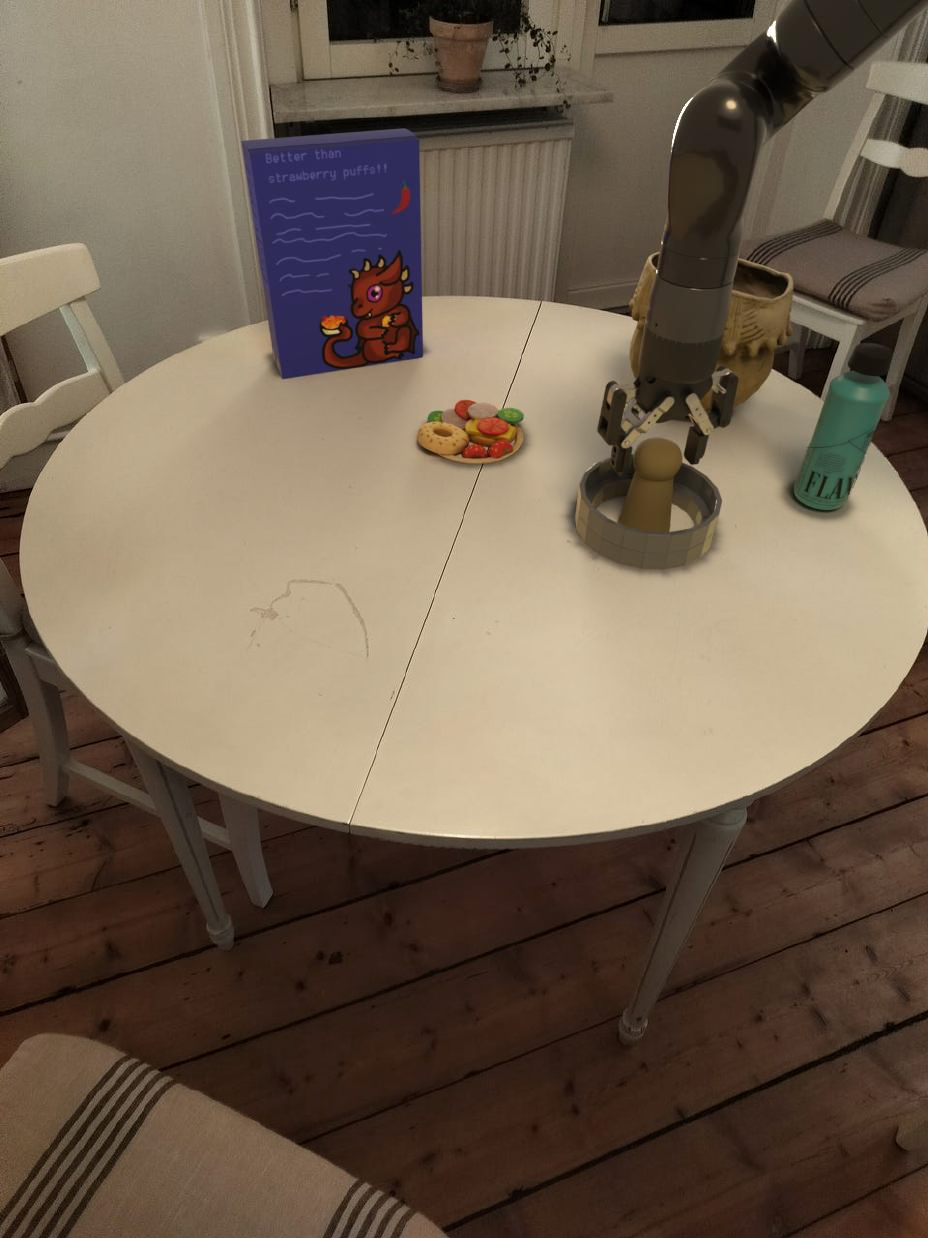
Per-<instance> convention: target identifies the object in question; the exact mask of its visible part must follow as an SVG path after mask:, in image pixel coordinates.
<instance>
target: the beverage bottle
mask: <svg viewBox="0 0 928 1238" xmlns="http://www.w3.org/2000/svg"><path fill="white" fill-rule="evenodd" d="M893 357H894V353H893V351H892V350H891V348H889V347H887V346H885V345H882V344H880V343H876V342H875V343H873V342H862V343H859V344H856V346H854V348H853V351H852V353H851V355H850V356H849V359H848V362H847V367H848V368H849V369H850V370H849V371H847V372H843V373H841V374H838V375H837V376H835V377H834V378H832V379H831V380H830V382H829V385H828V390H827V393H826V396H825V398H824V401H823V404H822V407H821V411H820V413H819V415H818V419H817V422H816V425H815V427H814V431H813V433H812V436H811V439H810V442H809V444H808V446H807V447H806V450H805V453H804V456H803V459H802V461H801V463H800V465H799V468H798V473H797V475H796V476H795V479H794V485H793V493H794V496H795V497H796V499H797V500H798V501H799V502H801V503H802V504H804V505H806V506H808V507H810V508H813V509H817V510H824V511H833V510H836V509H839V508H842V507H843V506H844V505H845V504H846V503H847V501H848V500H849V497H850V496H851V492H852V491H853V489H854V487H855V484H856V482H857V480H858V478H859V475H860V472H861V471H862V467H863V464H864V463H865V461H866V460H865V459H866V458H867V457H866V455H868V453H867V452H868V450H869V448H870V445H871V444H872V442H873V440H874V437H875V435H876V432H877V431H878V428H879V426H880V423H879V422H880V421H881V419H882V413H883V411H884V409H885V406H886V404H887V401H888V400H889V399H890V395H891V393H890V389H889V388H888V386H887V384H886V383H885V381H884V380H883V378H881V377H882V376H885V375H887V374H888V373H889V370H890V368H891V364H892V361H893Z"/></svg>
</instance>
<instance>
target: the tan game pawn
mask: <svg viewBox="0 0 928 1238" xmlns="http://www.w3.org/2000/svg"><path fill="white" fill-rule="evenodd" d="M633 454H634V455H633V463H634V468H635V469H636V471H635V474H634V477H633V480H632V482H631V485H630V488H629V491H628V494H627V495H626V497H625V499H624V503H623V506H622V508H621V510H620V514H619V517H618V520H617V523H620V524H622V525H624V526H627V527H631V528H635V529H640V530H644V531H653V532H671V521H672V505H673V504H672V493H673V479H674V475H675V474H677V473H678V471H679V469H680V467H681V464H682V463H683V453H682V449H681V448H680V446H679V444H677V443H676V442H674V441H672V440H670V439H667V438H664V437H649V438H648V437H647V438H645V439H643V440H642V441H640V443H638V444H637V446H636V447H635V450H634V451H633Z"/></svg>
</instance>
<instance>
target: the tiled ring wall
mask: <svg viewBox="0 0 928 1238" xmlns="http://www.w3.org/2000/svg"><path fill="white" fill-rule="evenodd" d="M633 455H634V453H632V454H631V460H630V465H629V471H628V475H627V476H623V477H620V476H619V475H618V474H617V473H616V472H615V470H614V469H613V468H612V466H611V464H610V458H611V457H609V458H605V459H603V460H601V461H598V462H595V463H594V464H593V465H592V466H590V467H589V468H588V469H587V470H586V471H585V472H584V473H583V475H582V478H581V479H580V482H579V484H578V492H577V500H576V501H577V502H576V507H575V514H574V522H575V530H576V533H578V536H579V537H580V538H581V541H582V542H583V544H585V545H586V546H587V547H589V548H590V549H591V550H592V551H594V552H595V553H596V554H597V555H599V556H600V557H603V558H605V559H606V560H609V561H612V562H614V563H616V564H618V565H622V566H627V567H629V568H630V567H631V568H634V569H635V568H636V569H640V570H660V571H662V570H670V569H675V568H681V567H684V566H687V565H689V564H691V563H693V562H695V561H697V560H699V559H701V558H702V557H703V555H705V553H706V552H707V551H708V550H709V549H710V547H711V545H712V541H713V538H714V534H715V531H716V528H717V524H718V520H719V516H720V513H721V508H722V504H723V499H722V497H721V493H720V490H719V487H718V486H717V485H716V484H715V483H714V482H713V481H712V480H711V478H709V476H707V475H706V474H704V473H703V472H701V470H698V468H695V467H694V466H693V465H691V464H687V463H684V462H682V464H681V467H680V469H679V471H678V473H677V474H675V475H674V479H673V493H672V505H675V506H676V507H678V508H679V509H681V510H682V511H684V512H685V513H686V514H687V516H689V518H691V520H692V521H693V523H694V526H692V527H689V528H685V529H679V530H673V531H669V532H653V531H644V530H640V529H635V528H631V527H627V526H624V525H622V524H620V523H618V521H615V520H613V519H611V518H608V517H607V516H606V515H605V514H603V513H601V512H600V510H598V509H597V507H598V506H600V505H601V504H602V503H604V502H607V501H609V500H611V499H614V498H619V497H625V496H626V497H627V494H628V491H629V488H630V485H631V482H632V480H633V477H634V474H635V471H636V469H635V468H634V463H633Z"/></svg>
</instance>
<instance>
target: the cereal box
mask: <svg viewBox="0 0 928 1238" xmlns="http://www.w3.org/2000/svg"><path fill="white" fill-rule="evenodd" d="M240 142H241V148H242V154H243V155H242V156H243V161H244V168H245V169H244V170H245V174H246V175H245V176H246V181H247V189H248V195H249V201H250V202H249V203H250V208H251V217H252V222H253V229H254V237H255V242H256V248H257V255H258V262H259V270H260V276H261V282H262V288H263V296H264V302H265V310H266V316H267V317H266V318H267V322H268V329H269V336H270V343H271V349H272V356H273V362H274V364H275V366H276V368H277V371H278V373H279V375H280V378H281V379H282V380H285V379H293V378H299V377H305V376H312V375H317V374H323V373H324V374H325V373H330V372H338V371H343V370H350V369H357V368H363V367H369V366H377V365H382V364H389V363H394V362H402V361H408V360H414V359H415V360H416V359H421V358H423V357H424V330H423V329H424V325H423V321H424V320H423V275H422V274H423V272H422V269H423V268H422V226H421V225H422V215H421V214H422V213H421V210H422V209H421V164H420V163H421V161H420V157H421V156H420V138H418V137H417V135H416V134H415V133H414V132H412V131H411V130H409V129H407V128H406V127H405V128H393V129H392V128H391V129H390V128H389V129H380V130H379V129H377V130H366V131H365V130H364V131H353V132H352V131H351V132H339V133H326V134H312V135H299V136H286V137H275V138H273V137H272V138H260V139H247V140H241V141H240Z"/></svg>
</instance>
